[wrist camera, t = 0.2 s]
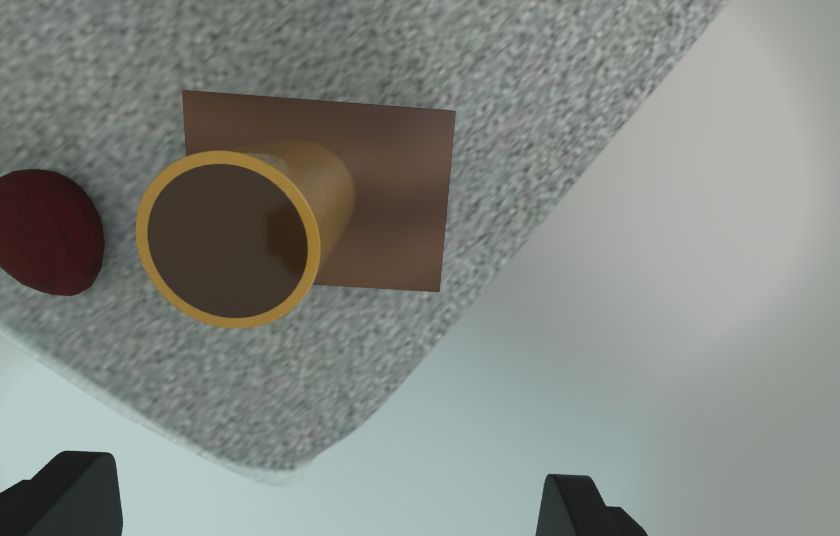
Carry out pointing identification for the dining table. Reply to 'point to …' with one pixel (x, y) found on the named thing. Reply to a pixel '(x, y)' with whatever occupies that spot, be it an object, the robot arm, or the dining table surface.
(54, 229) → the potato
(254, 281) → the tumbler
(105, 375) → the dining table surface
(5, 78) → the dining table surface
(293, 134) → the shelf
